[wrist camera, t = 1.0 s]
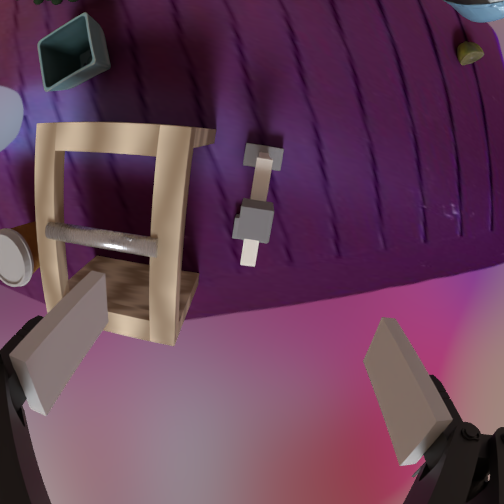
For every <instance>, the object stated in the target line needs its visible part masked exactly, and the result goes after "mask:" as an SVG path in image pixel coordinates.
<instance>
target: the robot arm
mask: <svg viewBox="0 0 504 504" xmlns="http://www.w3.org/2000/svg"><path fill="white" fill-rule="evenodd" d="M444 1H445V2H447V3H448V4H450V5H451V6H452V7H453V8H454V9H455V10H457V11H458V12H459V13H460V14H461V15H462V16H463V17H465V18H467V19H468V20H471V21H474V22H491V21H496V20H499V19H502V18H504V0H444ZM108 322H109V321H108V309H107V294H106V275H105V273H101V272H96V271H91V272H90V273H88V274H87V275H86V276H85V277H84V278H83V279H82V280H81V281H80V282H79V283H78V284H77V285H76V286H75V287H74V288H73V289H72V290H71V291H70V292H69V293H68V294H67V295H65V296H64V297H63V298H62V299H61V300H60V301H59V302H58V303H57V304H56V305H55V306H54V307H53V308H52V309H51V310H50V311H49V312H48V314H47V315H46V316H45V317H42V316H37V317H35V318H33V319H31V320H29V321H28V322H27V323H26V324H25V325H24V326H23V327H22V329H20V330H19V331H18V332H17V333H16V335H14V336H13V337H12V338H11V339H10V340H9V341H8V342H7V343H6V345H5V346H4V347H3V348H2V349H1V350H0V504H51V502H50V499H49V496H48V494H47V491H46V488H45V485H44V483H43V480H42V476H41V473H40V470H39V467H38V464H37V461H36V457H35V453H34V450H33V446H32V442H31V438H30V434H29V430H28V426H27V421H26V416H25V412H24V409H23V406H22V405H23V403H24V402H25V400H26V399H27V401H28V404H29V406H30V408H31V409H32V410H34V411H36V412H38V413H40V414H43V415H45V416H47V415H48V413H49V411H50V410H51V408H52V407H53V405H54V403H55V402H56V400H57V399H58V397H59V395H60V394H61V392H62V390H63V389H64V387H65V386H66V384H67V383H68V381H69V380H70V378H71V376H72V375H73V373H74V372H75V370H76V369H77V367H78V366H79V364H80V363H81V361H82V360H83V358H84V357H85V355H86V354H87V352H88V351H89V350H90V348H91V347H92V345H93V344H94V342H95V341H96V339H97V338H98V336H99V335H100V334H101V332H102V331H103V329H104V328H105V326H106V325H107V324H108ZM363 362H364V364H365V367H366V370H367V373H368V375H369V378H370V381H371V383H372V386H373V389H374V392H375V394H376V397H377V400H378V403H379V406H380V408H381V411H382V414H383V417H384V420H385V422H386V426H387V429H388V432H389V434H390V437H391V440H392V444H393V447H394V450H395V453H396V456H397V459H398V462H399V465H400V466H402V465H409V464H416V463H417V461H418V460H419V459H420V458H421V457H422V456H423V455H424V457H425V460H426V462H425V463H424V464H423V465H422V466H421V467H420V468H419V469H418V470H417V471H416V472H415V473H414V474H413V476H412V477H415V476H416V475H417V474H418V475H417V477H416V480H415V482H414V484H413V485H412V487H411V490H410V491H409V493H408V495H407V497H406V499H405V501H404V503H403V504H504V427H500V428H498V429H497V430H496V432H495V433H494V434H493V435H484V434H481V433H480V431H479V429H478V428H477V427H476V426H474V425H473V424H471V423H468V422H463V421H462V419H461V417H460V415H459V413H458V412H457V410H456V408H455V406H454V404H453V402H452V401H451V399H449V398H450V397H449V395H448V393H447V392H446V390H445V388H444V386H443V385H442V383H441V382H440V381H439V380H438V379H437V378H436V377H435V376H434V375H429V374H428V372H427V371H426V369H425V367H424V365H423V364H422V362H421V361H420V359H419V357H418V355H417V354H416V352H415V350H414V348H413V347H412V345H411V344H410V342H409V340H408V338H407V337H406V335H405V334H404V332H403V330H402V329H401V327H400V326H399V324H398V322H397V321H396V319H393V318H384V317H382V318H381V321H380V323H379V326H378V328H377V331H376V333H375V335H374V338H373V340H372V342H371V345H370V347H369V349H368V351H367V354H366V356H365V358H364V360H363ZM489 474H490V480H489V481H488V475H489Z"/></svg>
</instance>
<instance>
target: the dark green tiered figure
mask: <svg viewBox="0 0 504 504" xmlns="http://www.w3.org/2000/svg"><path fill="white" fill-rule="evenodd" d="M43 1H44V0H34V3H35V4H36V5H38V4H41V3H42V2H43ZM47 1H49V0H47ZM68 1H70V2H76V1H78V0H68ZM61 2H62V0H52V3H53V4H54V5H58V4H60V3H61Z"/></svg>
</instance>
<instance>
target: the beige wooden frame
mask: <svg viewBox="0 0 504 504" xmlns="http://www.w3.org/2000/svg"><path fill="white" fill-rule="evenodd" d="M215 134H216V129H208V128H198V127H188V126H177V125H164V124H149V123H129V122H58V123H38V124H37V130H36V146H35V215H36V231H37V243H38V253H39V261H40V269H41V277H42V284H43V290H44V296H45V302H46V307H47V312H49V311H50V310H51V309H52V308H53V307H54V306H55V305H56V304H57V303H58V302H59V301H60V300H61V299H62V298H63V297H64V296H65V295H67V294H68V293H69V292H70V291H71V290H72V289H73V288H74V287H75V286H76V285H77V284H78V283H79V282H80V281H81V280H82V279H83V278H84V277H85V276H86V275H87V274H88V273H90V272H91V271H96V272H101V273H105V275H106V294H107V309H108V321H109V322H108V324H107V325H106V326H105V328H104V329H103V330H105V331H109V332H112V333H117V334H121V335H125V336H129V337H134V338H138V339H142V340H147V341H152V342H156V343H161V344H167V345H171V346H174V345H175V343H176V340H177V337H178V335H179V332H180V330H181V327H182V324H183V322H184V319H185V317H186V314H187V311H188V309H189V306H190V304H191V301H192V298H193V296H194V293H195V291H196V288H197V286H198V279H199V273H194V272H188V271H182V270H181V267H182V253H183V241H184V229H185V218H186V207H187V197H188V188H189V179H190V170H191V162H192V154H193V148H195V147H200V146H204V145H209V144H213V143H214V141H215ZM65 151H83V152H103V153H119V154H132V155H145V156H156V166H155V177H154V189H153V203H152V219H151V237H149V236H143V235H137V234H130V233H124V232H117V231H111V230H104V229H98V228H91V227H85V226H78V225H72V224H65V223H64V203H63V186H64V155H65ZM65 242H68V243H74V244H79V245H85V246H91V247H96V248H102V249H107V250H113V251H119V252H125V253H130V254H136V255H142V256H148V257H150V265H146V264H141V263H135V262H129V261H124V260H118V259H113V258H107V257H102V256H96V257H95V258H93V259H92V260H91V261H90V262H89V263H88V264H86V265H85V266H84V267H83V268H82V269H81V270H80V271H78V272H77V273H76V274H75V275H74V276H73V277H72V278H71V279H70V280H68V273H67V263H66V250H65Z"/></svg>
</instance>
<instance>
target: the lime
mask: <svg viewBox="0 0 504 504" xmlns="http://www.w3.org/2000/svg"><path fill="white" fill-rule="evenodd" d="M483 55H484V52H483V50H482V49H481V47H480V46H479V45H478V44H476V43H473V42H467V41H465V42H464V43H461V44H460V45H459V46H458V48H457V56H458V60H459V62H460V63H461V65H466V64H470V63H473V62H474V61H478V60H479V59H481V58H482V57H483Z"/></svg>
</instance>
